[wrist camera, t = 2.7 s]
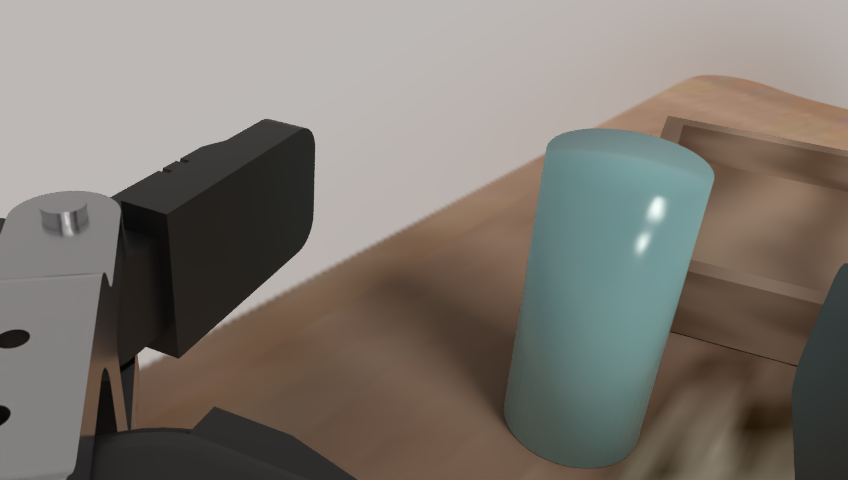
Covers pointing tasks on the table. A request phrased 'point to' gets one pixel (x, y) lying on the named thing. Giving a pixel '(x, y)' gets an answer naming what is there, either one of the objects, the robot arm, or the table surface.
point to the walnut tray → (762, 239)
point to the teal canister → (601, 291)
